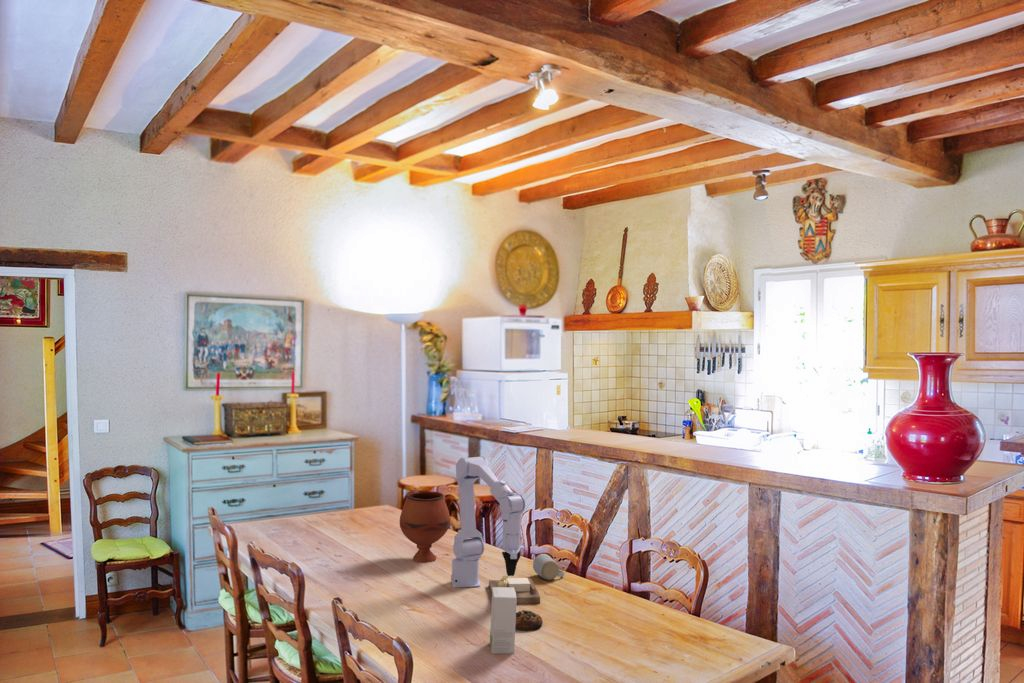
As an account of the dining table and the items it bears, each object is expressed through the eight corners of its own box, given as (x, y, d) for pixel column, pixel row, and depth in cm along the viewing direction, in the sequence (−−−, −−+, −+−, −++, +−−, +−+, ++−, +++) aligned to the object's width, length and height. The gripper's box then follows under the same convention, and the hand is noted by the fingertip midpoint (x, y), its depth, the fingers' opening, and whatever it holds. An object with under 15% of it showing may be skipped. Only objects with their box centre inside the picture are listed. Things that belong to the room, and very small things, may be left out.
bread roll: (531, 634, 219) (530, 616, 220) (499, 631, 225) (498, 613, 226) (550, 624, 229) (549, 607, 229) (519, 621, 235) (518, 604, 235)
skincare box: (489, 642, 213) (491, 586, 213) (513, 642, 213) (514, 586, 214) (491, 654, 205) (492, 596, 205) (515, 654, 205) (517, 596, 205)
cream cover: (508, 591, 251) (509, 583, 251) (506, 585, 256) (507, 578, 256) (529, 591, 251) (530, 583, 251) (527, 585, 257) (527, 578, 257)
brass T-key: (502, 589, 251) (502, 575, 251) (507, 590, 251) (508, 576, 251) (495, 601, 239) (496, 586, 239) (501, 602, 239) (501, 587, 239)
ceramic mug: (541, 582, 268) (542, 560, 268) (532, 575, 275) (532, 554, 275) (568, 579, 272) (569, 558, 272) (558, 573, 279) (559, 552, 279)
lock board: (493, 604, 244) (494, 593, 244) (488, 586, 262) (489, 576, 262) (540, 603, 246) (540, 592, 246) (531, 585, 264) (532, 575, 264)
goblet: (389, 562, 287) (390, 496, 287) (414, 550, 304) (415, 488, 304) (434, 569, 279) (435, 501, 279) (457, 556, 297) (458, 492, 297)
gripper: (527, 538, 237) (525, 582, 237) (521, 527, 252) (520, 568, 252) (504, 538, 237) (503, 582, 237) (499, 527, 251) (498, 568, 251)
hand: (510, 575), depth 244 cm, fingers closed
